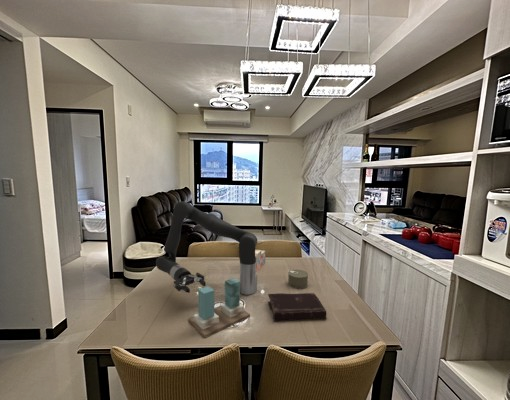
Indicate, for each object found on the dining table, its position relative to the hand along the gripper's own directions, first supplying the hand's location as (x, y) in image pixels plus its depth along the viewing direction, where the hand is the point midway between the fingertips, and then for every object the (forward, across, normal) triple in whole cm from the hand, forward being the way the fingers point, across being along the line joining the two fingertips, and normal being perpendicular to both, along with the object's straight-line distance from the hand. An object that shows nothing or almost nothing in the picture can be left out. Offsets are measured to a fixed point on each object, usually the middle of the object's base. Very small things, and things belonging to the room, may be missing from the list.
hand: (197, 287), depth 118 cm
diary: (+32, +36, +12) cm, 50 cm away
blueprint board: (+12, +4, +12) cm, 18 cm away
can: (+16, +61, +15) cm, 65 cm away
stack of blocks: (-21, +62, +19) cm, 68 cm away
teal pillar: (+12, -3, +7) cm, 14 cm away
